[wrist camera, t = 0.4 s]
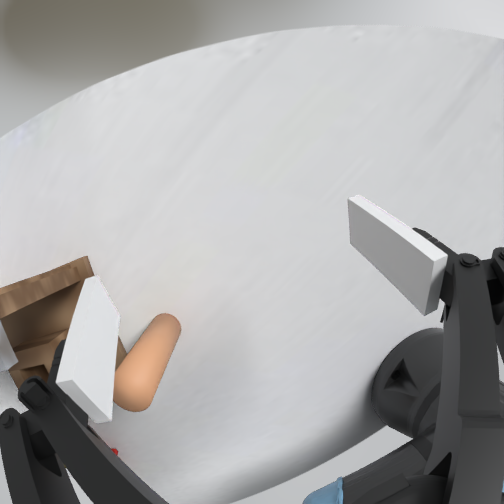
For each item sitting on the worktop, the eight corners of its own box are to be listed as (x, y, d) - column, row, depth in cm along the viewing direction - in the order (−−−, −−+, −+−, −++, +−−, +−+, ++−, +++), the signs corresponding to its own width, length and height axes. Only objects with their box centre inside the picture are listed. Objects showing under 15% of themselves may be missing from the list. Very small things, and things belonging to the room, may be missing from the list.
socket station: (140, 380, 34) (87, 484, 16) (32, 400, 34) (-32, 467, 16) (87, 255, 32) (-21, 290, 14) (-14, 300, 31) (-102, 337, 14)
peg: (185, 337, 34) (159, 407, 20) (158, 345, 33) (121, 414, 20) (174, 309, 33) (139, 368, 19) (147, 318, 33) (100, 377, 19)
